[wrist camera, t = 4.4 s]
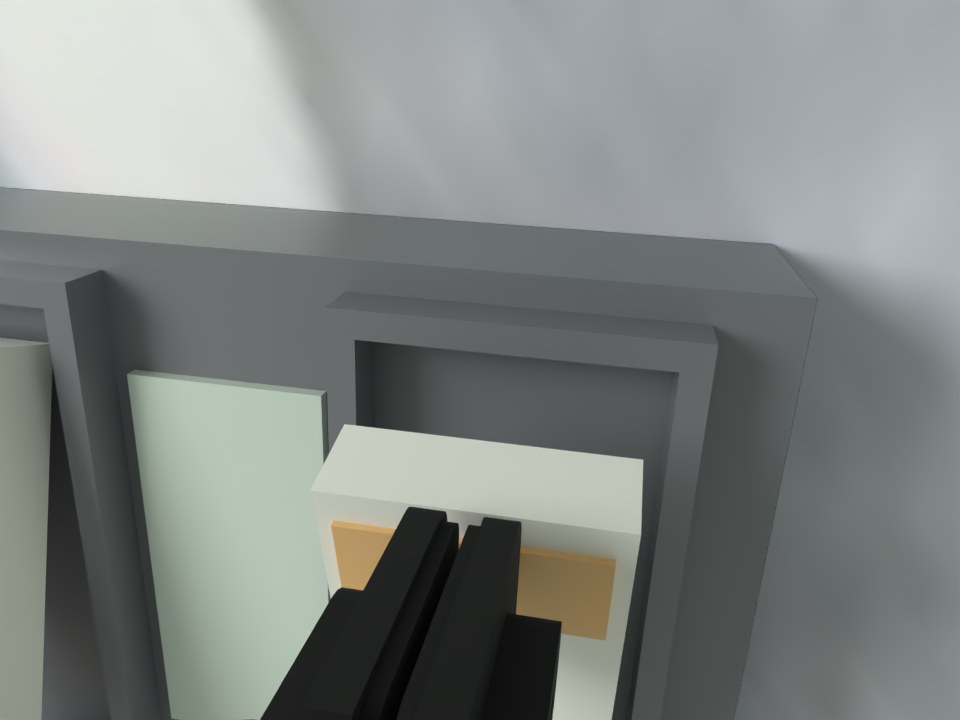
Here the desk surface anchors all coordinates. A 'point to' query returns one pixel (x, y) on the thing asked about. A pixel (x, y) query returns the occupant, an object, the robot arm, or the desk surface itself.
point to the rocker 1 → (23, 522)
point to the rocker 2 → (512, 496)
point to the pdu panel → (377, 423)
